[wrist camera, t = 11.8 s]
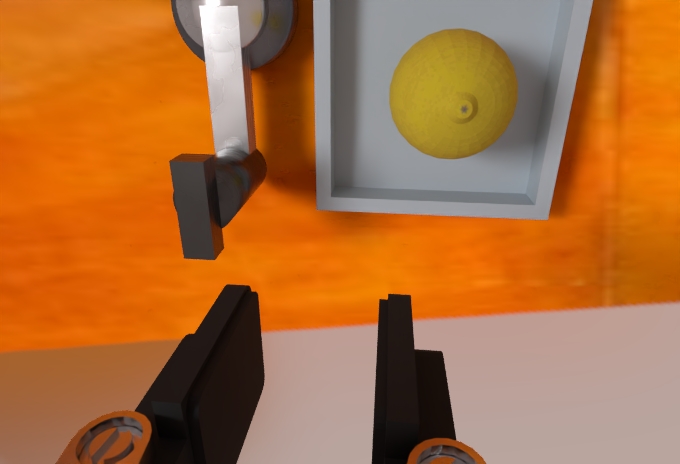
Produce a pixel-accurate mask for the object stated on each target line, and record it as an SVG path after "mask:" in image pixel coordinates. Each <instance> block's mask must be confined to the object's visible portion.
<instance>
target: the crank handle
mask: <svg viewBox="0 0 680 464" xmlns="http://www.w3.org/2000/svg"><path fill="white" fill-rule="evenodd" d="M176 7H177V12H178V15H179V19H180V21H181V23H182V25H183V27H184V29H185V31H186V32H187V33H188V35H189V36H190V37H191V38H192V39H193V40H194V41H195V42H196V43H197V44H199V45H200V46H202V47H204V53H205V62H206V71H207V81H208V90H209V99H210V108H211V117H212V127H213V136H214V145H215V155H209V154H180V155H179V156H177V157H175V158H174V159H172V160H170V161H169V162H170V169H171V175H172V182H173V189H174V193H173V202H174V206H175V209H176V211H177V215H178V221H179V228H180V235H181V241H182V248H183V254H184V258H186V259H204V260H215V259H216V258H217V257H218V255H219V254H220V253H221V251H222V250H223V249H224V244H223V235H222V228H223V227H225V226H226V225H227V224H228V223H229V222H230V221H231V220H232V218H233V217H234V216H235V215H236V214H237V212H238V211H239V210H240V209H241V208H242V206H243V205H244V204H245V203H246V202H247V200H248V199H249V198H250V197H251V196H252V194H253V193H254V192H255V191H256V190H257V188H258V187H259V186H260V185H261V184H262V182H263V181H264V179H265V177H266V172H267V167H266V162H265V159H264V157H263V155H262V154H261V153H260V152H259V150H257V149H256V135H255V121H254V107H253V93H252V79H251V65H250V51H249V47H250V46H252V45H253V44H254V43H255V42H256V41H257V40H258V39H259V38H260V37H261V35H262V34H263V32H264V30H265V27H266V25H267V21H268V15H269V5H268V0H176Z"/></svg>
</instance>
